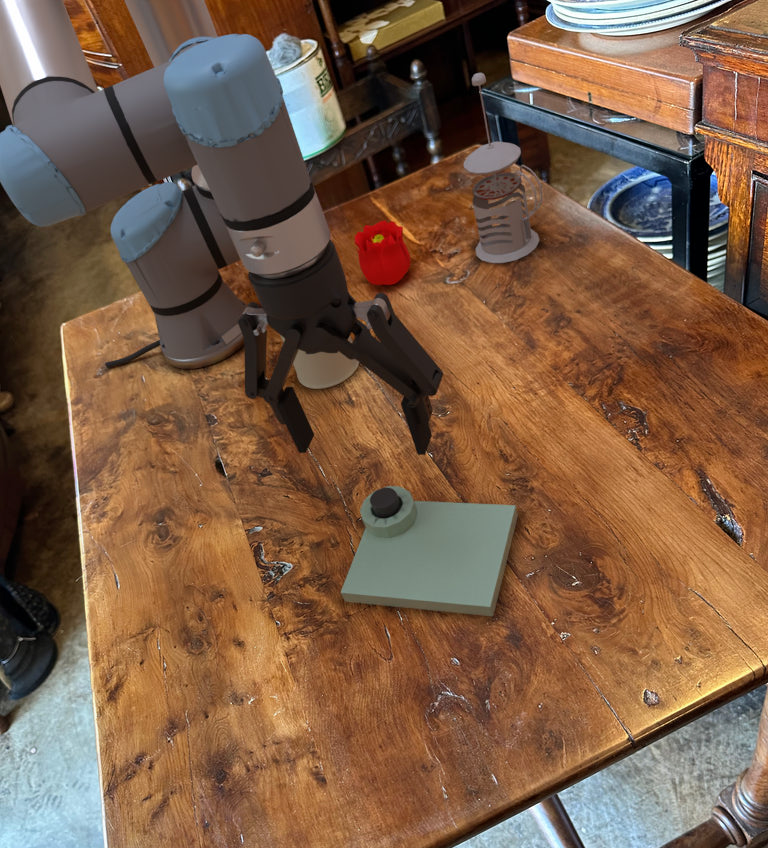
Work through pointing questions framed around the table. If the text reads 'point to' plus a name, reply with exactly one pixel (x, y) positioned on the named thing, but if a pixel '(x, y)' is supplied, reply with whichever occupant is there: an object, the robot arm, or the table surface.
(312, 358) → the can
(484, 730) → the table surface
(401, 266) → the flower
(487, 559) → the scale
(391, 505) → the button
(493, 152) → the french press
